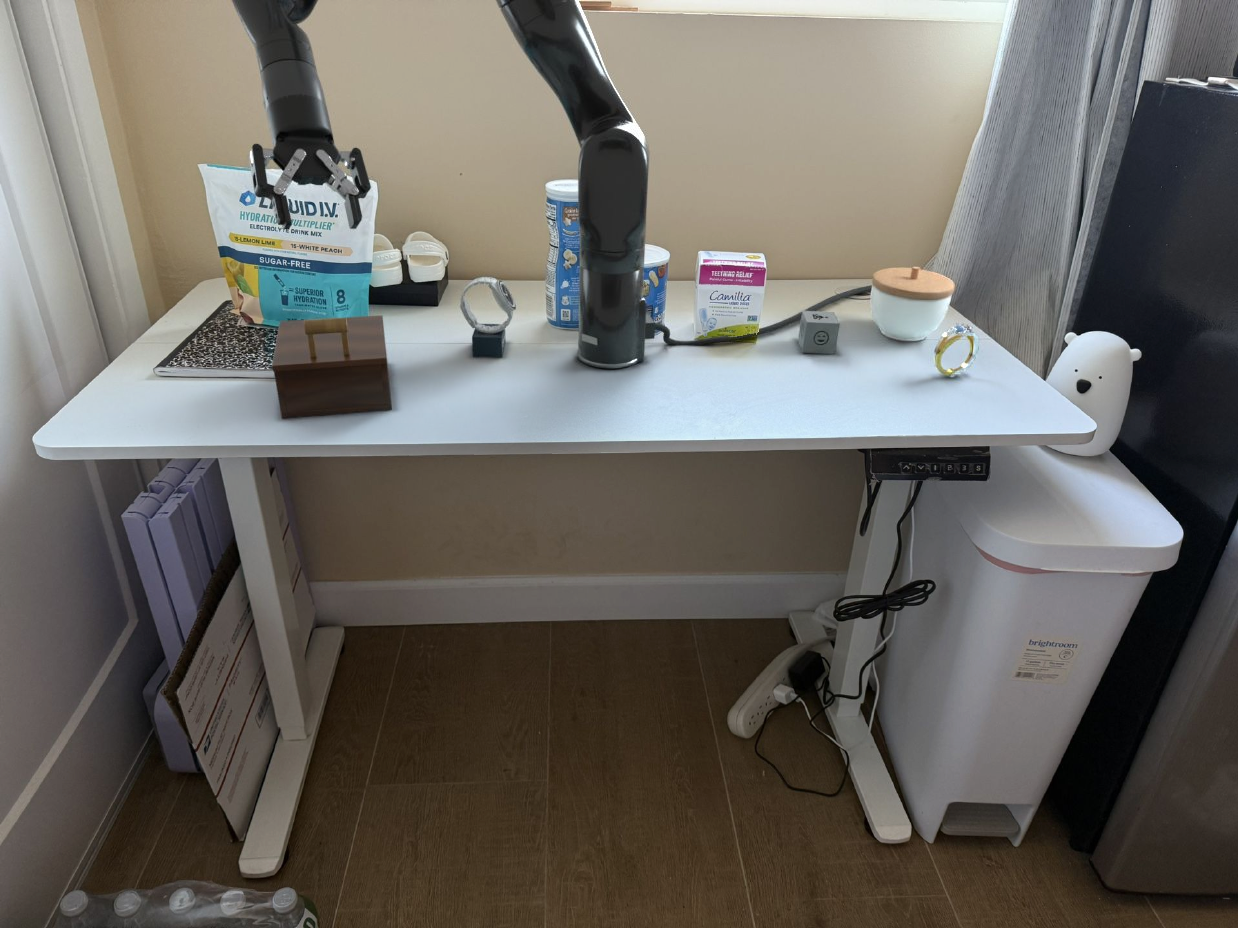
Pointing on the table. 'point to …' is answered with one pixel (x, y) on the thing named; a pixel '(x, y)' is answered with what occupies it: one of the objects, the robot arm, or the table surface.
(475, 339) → the watch
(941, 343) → the ring
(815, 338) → the dice cube
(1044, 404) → the table surface
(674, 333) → the table surface
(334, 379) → the case
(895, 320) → the lidded bowl
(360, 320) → the lid
